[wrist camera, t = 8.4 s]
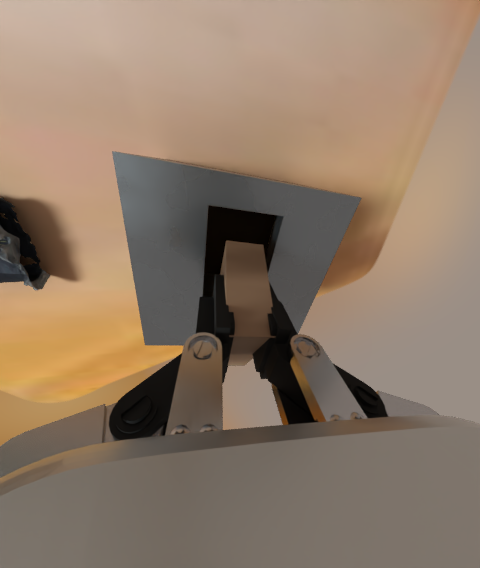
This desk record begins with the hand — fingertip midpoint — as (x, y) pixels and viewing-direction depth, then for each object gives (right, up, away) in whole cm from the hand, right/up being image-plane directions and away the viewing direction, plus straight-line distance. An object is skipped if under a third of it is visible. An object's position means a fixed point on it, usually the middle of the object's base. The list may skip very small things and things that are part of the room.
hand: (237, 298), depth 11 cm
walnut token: (0, +1, +1) cm, 2 cm away
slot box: (-1, +6, +9) cm, 11 cm away
